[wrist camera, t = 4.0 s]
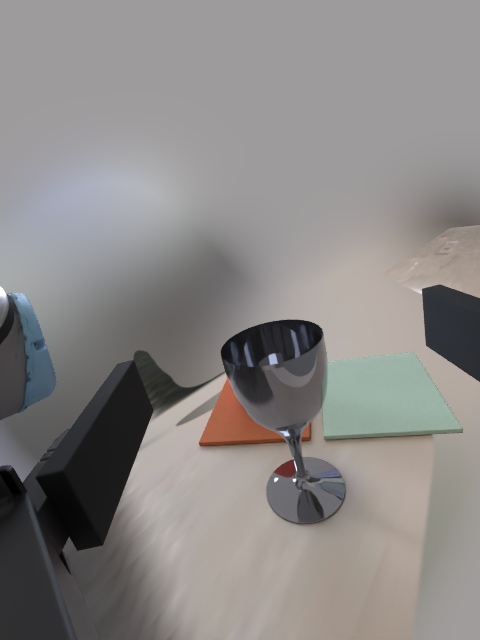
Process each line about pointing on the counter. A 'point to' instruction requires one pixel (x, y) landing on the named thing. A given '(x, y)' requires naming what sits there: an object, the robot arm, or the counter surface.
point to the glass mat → (384, 399)
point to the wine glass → (287, 409)
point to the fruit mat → (237, 425)
